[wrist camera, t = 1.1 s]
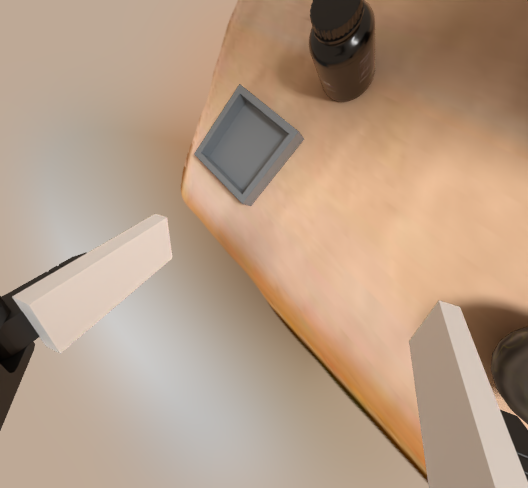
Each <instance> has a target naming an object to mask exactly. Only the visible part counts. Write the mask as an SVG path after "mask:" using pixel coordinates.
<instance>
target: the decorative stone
mask: <svg viewBox="0 0 528 488" xmlns="http://www.w3.org/2000/svg"><path fill="white" fill-rule="evenodd" d="M491 372H492V375H493V378H494V382H495V385H496V388H497V390H498V391H499V393H500V394H501V396H502V397H503V399H504V400H505V402H506V403H507V404H508V406H509V407H510V409H511V410H512V411H513V412H514V413H515V414H516V415H518V416H519V417H520V418H521V419H522V420H523V421H525V422H526V423H527V424H528V327H525V328H522V329H520V330H517V331H514V332H511V333H510V334H509V335H507V336H506V337H505V338H503V339H502V340H501V341H500V342H499V343H498V345H497V347H496V349H495V350H494V352H493V354H492V362H491Z"/></svg>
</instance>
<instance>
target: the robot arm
mask: <svg viewBox="0 0 528 488" xmlns="http://www.w3.org/2000/svg"><path fill="white" fill-rule="evenodd" d="M171 259H172V251H171V243H170V235H169V228H168V221H167V217H165V216H161V215H158V214H154V215H152V216H150V217H148V218H147V219H145V220H143V221H141V222H140V223H138V224H136V225H135V226H133V227H131V228H130V229H128V230H126V231H124V232H122V233H121V234H119V235H117V236H116V237H114V238H112V239H110V240H109V241H107V242H105V243H104V244H102V245H100V246H98V247H97V248H95V249H93V250H92V251H90V252H88V253H84V254H80V255H78V256H75V257H72V258H70V259H68V260H66V261H65V262H63V263H61V264H59V266H56V267H54V268H52V269H51V270H49V272H45V273H43V274H42V275H40V276H38V277H37V278H34V279H33V280H31V281H29V282H28V283H26V284H24V285H22V286H20V287H19V288H17V289H15V290H13V291H12V292H10V293H8V294H6V295H4V296H2V297H1V296H0V430H1V428H2V425H3V423H4V420H5V418H6V415H7V413H8V411H9V408H10V405H11V404H12V401H13V399H14V396H15V394H16V391H17V389H18V387H19V384H20V382H21V380H22V377H23V374H24V372H25V370H26V368H27V365H28V363H29V360H30V358H31V355H32V353H33V351H34V346H35V343H34V342H33V341H34V340H36V339H37V338H38V337H40V338H41V340H42V341H43V343H44V344H45V345H46V346H47V347H49V348H51V349H52V350H54V351H56V352H58V353H60V354H61V353H62V352H63V351H64V350H65V349H66V348H67V347H68V346H70V345H71V344H72V343H73V342H75V341H76V340H77V339H78V338H79V337H80V336H82V335H83V334H84V333H85V332H86V331H87V330H88V329H90V328H91V327H92V326H93V325H95V324H96V323H97V322H98V321H99V320H100V319H101V318H103V317H104V316H105V315H106V314H107V313H109V312H110V311H111V310H112V309H113V308H114V307H116V306H117V305H118V304H119V303H120V302H121V301H123V300H124V299H125V298H126V297H127V296H129V295H130V294H131V293H132V292H133V291H134V290H136V289H137V288H138V287H139V286H140V285H141V284H143V283H144V282H145V281H146V280H147V279H149V278H150V277H151V276H152V275H153V274H154V273H156V272H157V271H158V270H159V269H160V268H161V267H163V266H164V265H165V264H166V263H167V262H168V261H170V260H171ZM409 345H410V352H411V359H412V367H413V374H414V381H415V389H416V396H417V403H418V411H419V418H420V425H421V433H422V440H423V448H424V455H425V462H426V470H427V477H428V484H429V488H528V430H527V428H526V427H525V426H524V424H523V423H522V422H521V420H520V419H519V418H518V416H515V415H513V414H510V413H507V412H505V411H502V410H500V409H499V406H498V404H497V401H496V398H495V396H494V393H493V391H492V388H491V386H490V383H489V380H488V378H487V375H486V373H485V370H484V367H483V365H482V362H481V360H480V357H479V355H478V352H477V349H476V347H475V344H474V342H473V339H472V337H471V334H470V331H469V329H468V326H467V324H466V321H465V318H464V316H463V313H462V311H461V308H460V307H459V306H455V305H452V304H449V303H446V302H442V301H438V302H437V304H436V305H435V306H434V308H433V309H432V310H431V312H430V313H429V314H428V316H427V317H426V319H425V320H424V321H423V323H422V324H421V325H420V327H419V328H418V329H417V331H416V332H415V333H414V335H413V336H412V337H411V339H410V340H409Z"/></svg>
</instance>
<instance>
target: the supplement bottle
mask: <svg viewBox="0 0 528 488" xmlns="http://www.w3.org/2000/svg"><path fill="white" fill-rule="evenodd" d="M310 13H311V14H310V18H311V23H312V29H311V32H310V37H309V49H310V53H311V56H312V59H313V61H314V64H315V67H316V70H317V73H318V75H319V78H320V81H321V84H322V86H323V89H324V91H325V93H326V94H327V96H328V97H330V98H331V99H333V100H335V101H339V102H345V101H350V100H353V99H355V98H357V97H358V96H360V95H361V94H362V93H363V92H364V91H365V90H366V89H367V88H368V87H369V85H370V84H371V82H372V79H373V77H374V72H375V19H374V13H373V11H372V8H371V7H370V5H369V4H368V3H367V2H366V1H365V0H313V3H312V5H311V10H310Z"/></svg>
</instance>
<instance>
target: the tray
mask: <svg viewBox="0 0 528 488" xmlns="http://www.w3.org/2000/svg"><path fill="white" fill-rule="evenodd" d="M303 140H304V138H303V137H302V135H301V134H300V133H299V131H297V130H296V129H295V128H294V127H292V126H291V125H290V124H289V123H287V122H286V121H285V120H284V119H283V118H281V117H280V116H279V115H278V114H276V113H275V112H274V111H273V110H271V109H270V108H269V107H268V106H266V105H265V104H264V103H263V102H261V101H260V100H259V99H258V98H256V97H255V96H254V95H253V94H252V93H250V92H249V91H248V90H247V89H245V88H244V87H243V86H242V85H240V84H239V86H238V87H237V89H236V91H235V92H234V94H233V95H232V97H231V98H230V100H229V101H228V103H227V104H226V106H225V107H224V109H223V111H222V112H221V114H220V115H219V117H218V118H217V120H216V121H215V123H214V124H213V126H212V127H211V129H210V131H209V132H208V134H207V135H206V137H205V138H204V140H203V141H202V143H201V144H200V146H199V147H198V149H197V151H196V152H195V154H194V155H195V156H196V157H197V158H198V159H199V160H200V161H201V162H202V163H203V164H204V165H205V166H206V167H207V168H208V169H209V170H210V171H211V172H212V173H213V174H214V175H215V176H216V177H217V178H218V179H219V180H220V181H221V182H222V183H223V184H224V185H225V186H226V187H227V189H228V190H229V191H230V192H231V193H232V194H233V195H234V196H235V197H236V198H237V199H238V200H239V201H240V202H241V203H242V204H245V205H249V206H251V205H252V204H253V203H254V202H255V200H256V199H257V198H258V196H259V195H260V194H261V193H262V191H263V190H264V189H265V188H266V186H267V185H268V184H269V183H270V181H271V180H272V179H273V178H274V176H275V175H276V174H277V173H278V171H279V170H280V169H281V168H282V166H283V165H284V164H285V163H286V161H287V160H288V159H289V158H290V156H291V155H292V154H293V153H294V151H295V150H296V149H297V148H298V146H299V145H300V144H301V142H302V141H303Z"/></svg>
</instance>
